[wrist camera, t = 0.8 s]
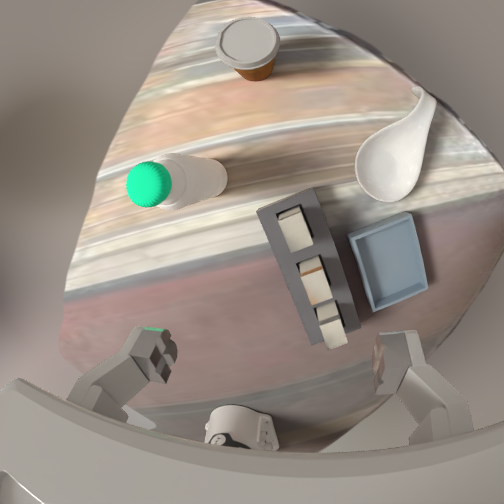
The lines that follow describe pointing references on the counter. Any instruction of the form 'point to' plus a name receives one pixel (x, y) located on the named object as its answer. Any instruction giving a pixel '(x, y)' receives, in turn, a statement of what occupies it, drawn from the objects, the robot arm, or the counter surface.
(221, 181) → the water bottle
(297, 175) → the counter surface
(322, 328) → the block
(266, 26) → the disposable coffee cup
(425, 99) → the spoon rest
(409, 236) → the tray
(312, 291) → the orange cap fuse
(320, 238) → the fuse strip
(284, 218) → the block
